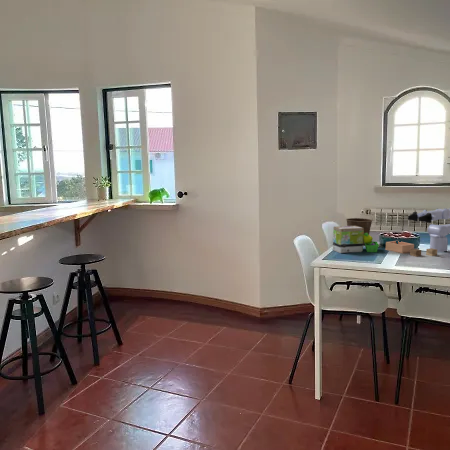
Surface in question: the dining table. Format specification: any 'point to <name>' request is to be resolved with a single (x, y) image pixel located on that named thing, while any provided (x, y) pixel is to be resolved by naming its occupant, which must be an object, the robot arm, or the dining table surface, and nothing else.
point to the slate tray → (401, 253)
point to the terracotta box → (399, 247)
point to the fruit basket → (370, 243)
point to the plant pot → (360, 224)
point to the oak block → (431, 252)
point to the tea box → (348, 239)
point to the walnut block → (415, 252)
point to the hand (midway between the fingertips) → (413, 218)
